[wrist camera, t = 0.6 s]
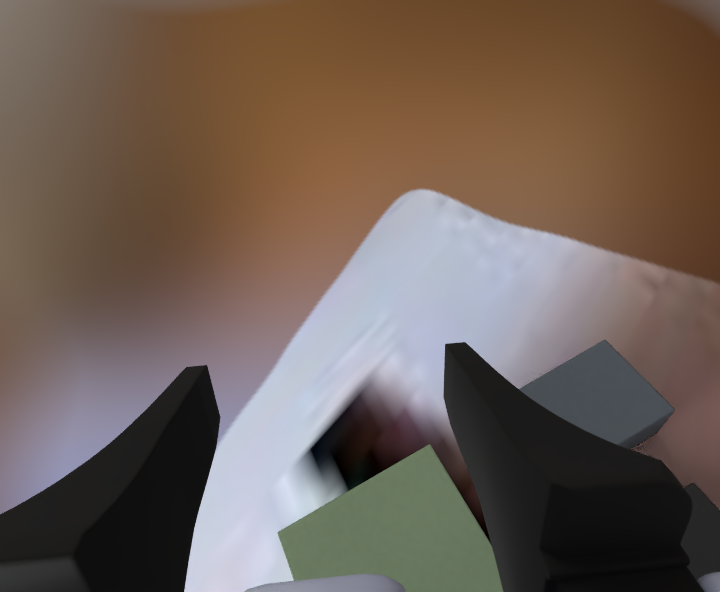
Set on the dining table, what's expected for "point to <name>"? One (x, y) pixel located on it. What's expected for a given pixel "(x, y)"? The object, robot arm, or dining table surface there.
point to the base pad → (397, 533)
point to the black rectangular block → (702, 534)
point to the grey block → (602, 397)
